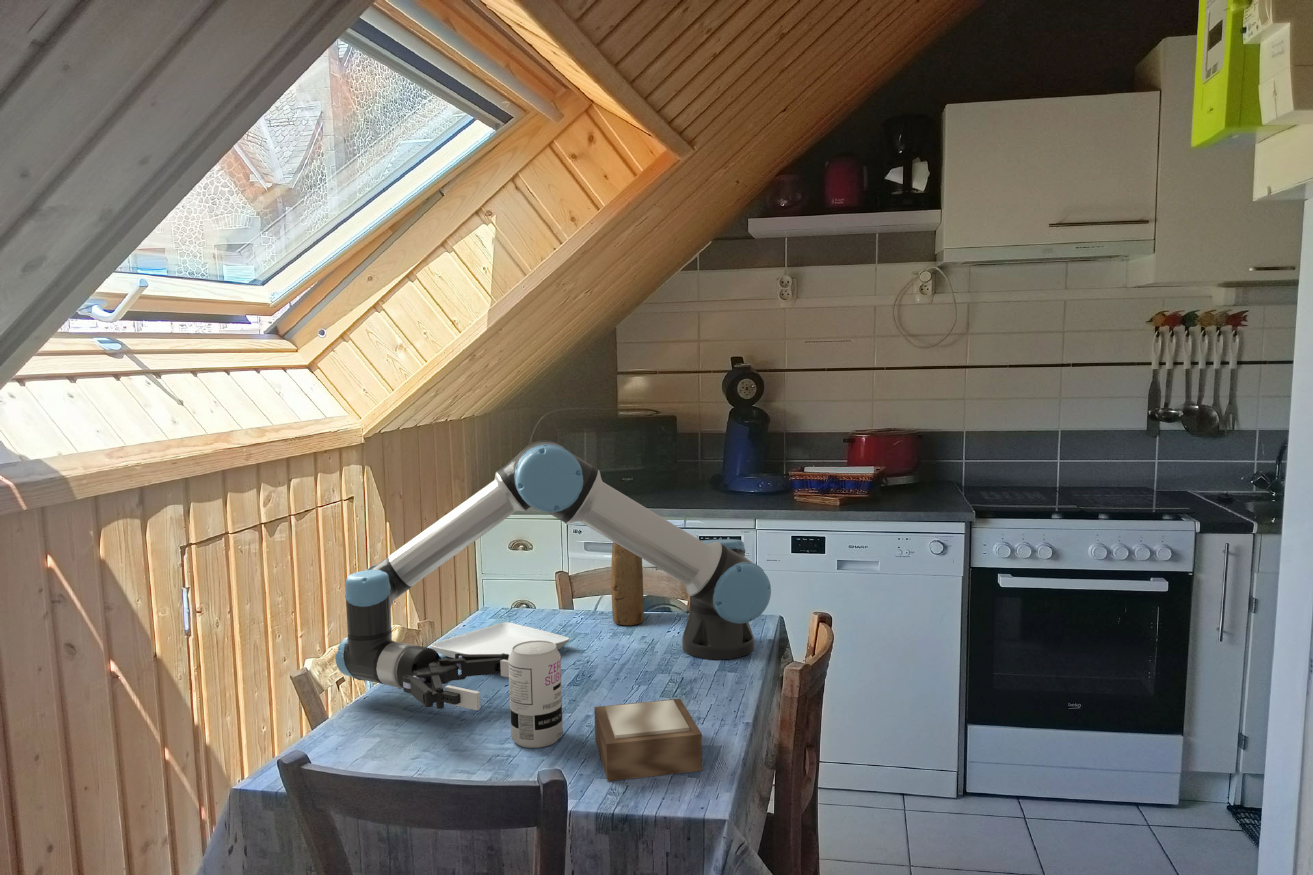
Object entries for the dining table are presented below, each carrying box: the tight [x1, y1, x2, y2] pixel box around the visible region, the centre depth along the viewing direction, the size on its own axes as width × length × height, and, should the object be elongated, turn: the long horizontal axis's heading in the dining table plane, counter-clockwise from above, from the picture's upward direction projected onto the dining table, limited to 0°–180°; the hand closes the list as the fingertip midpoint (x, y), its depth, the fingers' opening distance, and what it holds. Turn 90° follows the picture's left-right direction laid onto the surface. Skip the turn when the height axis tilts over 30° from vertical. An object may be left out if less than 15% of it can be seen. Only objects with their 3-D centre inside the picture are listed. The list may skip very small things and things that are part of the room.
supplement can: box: [508, 640, 564, 749], centre depth 136 cm, size 8×8×15 cm
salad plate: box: [430, 621, 570, 659], centre depth 179 cm, size 21×21×3 cm
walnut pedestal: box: [593, 698, 703, 782], centre depth 130 cm, size 14×14×6 cm
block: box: [610, 541, 645, 626], centre depth 200 cm, size 11×8×20 cm
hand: (506, 686), depth 138 cm, fingers open, 13 cm apart
